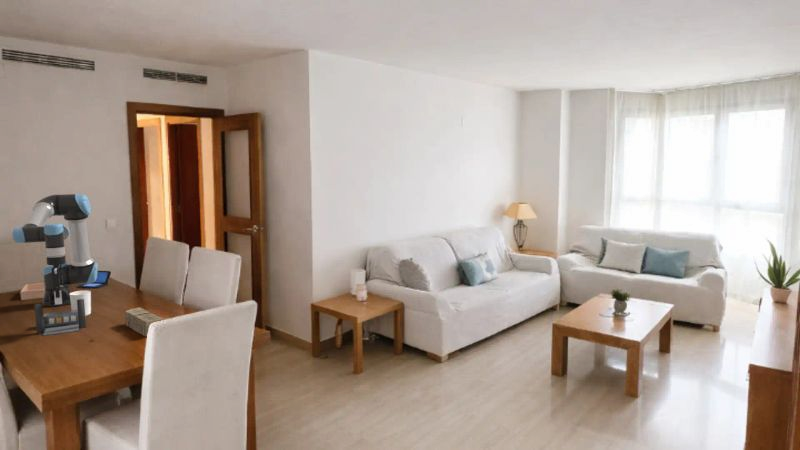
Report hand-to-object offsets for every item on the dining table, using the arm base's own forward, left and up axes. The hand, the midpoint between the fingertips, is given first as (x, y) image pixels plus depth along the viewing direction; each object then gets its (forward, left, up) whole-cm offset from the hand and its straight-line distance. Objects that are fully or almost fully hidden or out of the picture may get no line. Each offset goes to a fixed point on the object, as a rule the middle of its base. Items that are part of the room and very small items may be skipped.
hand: (59, 301), depth 244 cm
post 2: (0, +9, -14) cm, 17 cm away
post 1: (0, -8, -14) cm, 17 cm away
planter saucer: (-89, -16, -14) cm, 92 cm away
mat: (0, 0, -14) cm, 14 cm away
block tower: (+18, +35, -15) cm, 42 cm away
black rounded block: (0, 0, -1) cm, 1 cm away
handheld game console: (-98, +11, -15) cm, 100 cm away
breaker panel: (-11, 0, -14) cm, 18 cm away
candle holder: (-26, +7, -15) cm, 31 cm away
